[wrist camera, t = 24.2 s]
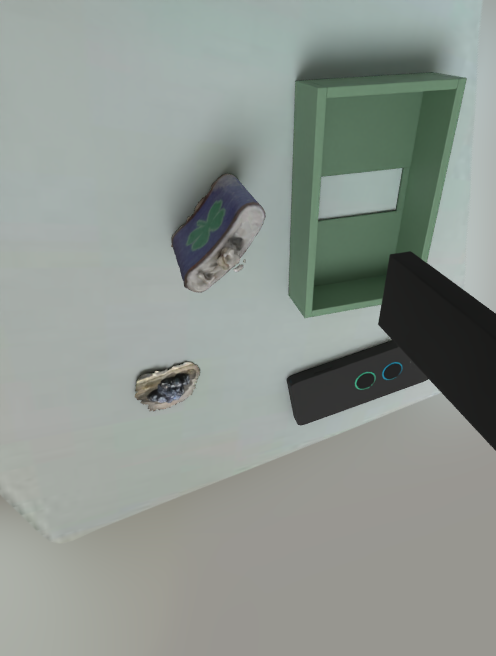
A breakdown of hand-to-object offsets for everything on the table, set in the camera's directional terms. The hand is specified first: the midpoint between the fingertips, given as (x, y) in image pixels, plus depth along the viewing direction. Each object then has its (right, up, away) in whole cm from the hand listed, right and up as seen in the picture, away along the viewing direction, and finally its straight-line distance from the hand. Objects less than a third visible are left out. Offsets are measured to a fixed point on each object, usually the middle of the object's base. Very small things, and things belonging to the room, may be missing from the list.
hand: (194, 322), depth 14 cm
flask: (-3, +11, +31) cm, 33 cm away
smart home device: (+17, -6, +49) cm, 52 cm away
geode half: (-8, -6, +40) cm, 42 cm away
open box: (+12, +14, +34) cm, 38 cm away
